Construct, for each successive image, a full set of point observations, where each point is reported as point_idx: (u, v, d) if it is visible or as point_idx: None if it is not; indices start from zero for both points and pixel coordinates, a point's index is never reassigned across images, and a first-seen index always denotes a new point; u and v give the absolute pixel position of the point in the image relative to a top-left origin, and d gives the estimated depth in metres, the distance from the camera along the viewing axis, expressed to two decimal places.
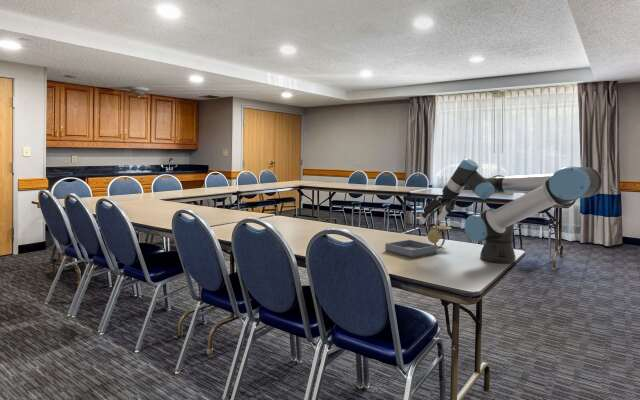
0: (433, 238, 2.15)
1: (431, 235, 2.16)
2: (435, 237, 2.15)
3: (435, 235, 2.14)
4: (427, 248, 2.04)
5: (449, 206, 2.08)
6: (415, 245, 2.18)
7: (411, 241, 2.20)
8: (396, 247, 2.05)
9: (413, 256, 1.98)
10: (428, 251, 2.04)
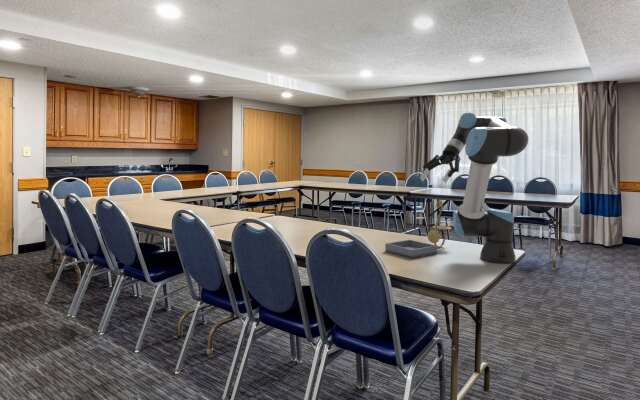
0: (433, 238, 2.15)
1: (431, 235, 2.16)
2: (435, 237, 2.14)
3: (435, 235, 2.14)
4: (427, 248, 2.04)
5: (450, 163, 2.07)
6: (415, 245, 2.18)
7: (411, 241, 2.20)
8: (396, 247, 2.05)
9: (413, 256, 1.98)
10: (428, 251, 2.04)
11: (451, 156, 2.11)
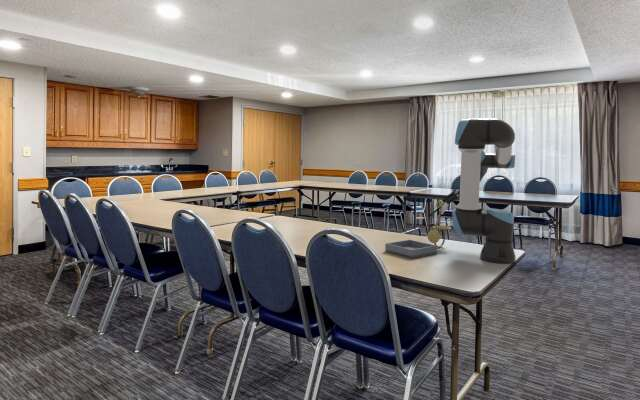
0: (433, 238, 2.15)
1: (431, 235, 2.16)
2: (435, 237, 2.14)
3: (435, 235, 2.14)
4: (427, 248, 2.04)
5: None
6: (415, 245, 2.18)
7: (411, 241, 2.20)
8: (396, 247, 2.05)
9: (413, 256, 1.98)
10: (428, 251, 2.04)
11: None
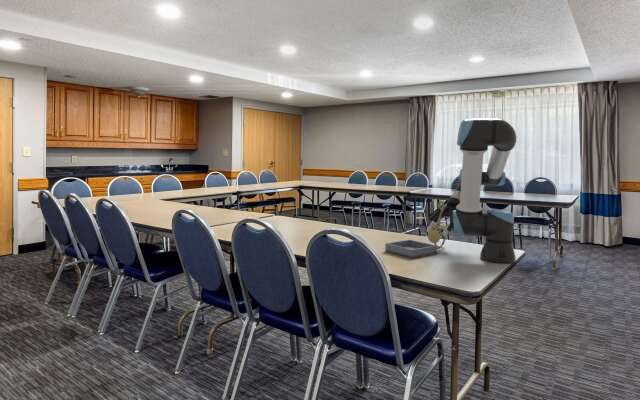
0: (433, 238, 2.15)
1: (431, 235, 2.16)
2: (435, 237, 2.14)
3: (435, 235, 2.14)
4: (427, 248, 2.04)
5: (451, 216, 2.19)
6: (415, 245, 2.18)
7: (411, 241, 2.20)
8: (396, 247, 2.05)
9: (413, 256, 1.98)
10: (428, 251, 2.04)
11: (454, 208, 2.21)
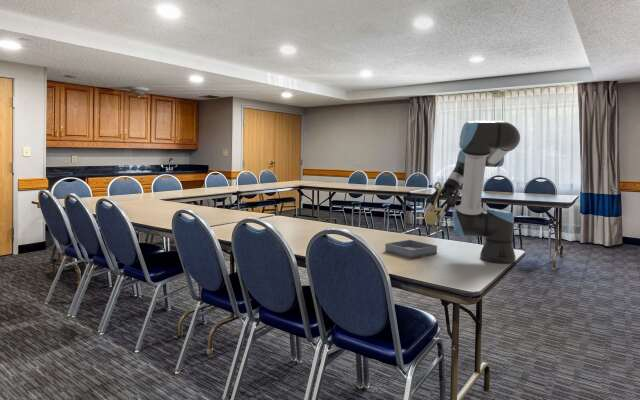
0: (430, 219, 2.14)
1: (428, 216, 2.15)
2: (432, 218, 2.13)
3: (432, 216, 2.13)
4: (427, 248, 2.04)
5: (448, 198, 2.17)
6: (415, 245, 2.18)
7: (411, 241, 2.20)
8: (396, 247, 2.05)
9: (413, 256, 1.98)
10: (428, 251, 2.04)
11: (452, 190, 2.20)
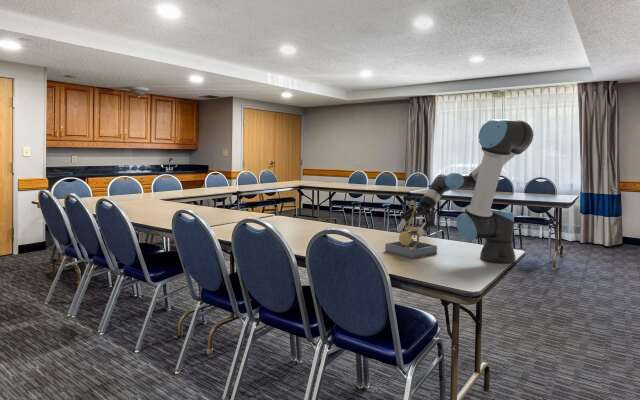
0: (405, 240, 2.04)
1: (403, 237, 2.04)
2: (407, 239, 2.03)
3: (407, 237, 2.03)
4: (427, 248, 2.04)
5: (425, 216, 2.06)
6: None
7: (411, 241, 2.20)
8: (396, 247, 2.05)
9: (413, 256, 1.98)
10: (428, 251, 2.04)
11: (427, 208, 2.10)
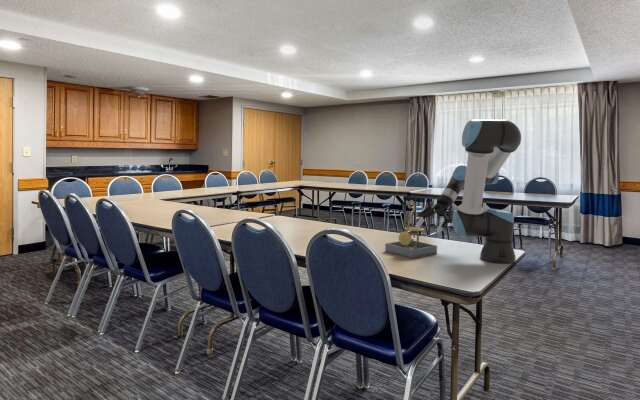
0: (404, 240, 2.04)
1: (402, 237, 2.05)
2: (406, 239, 2.03)
3: (406, 237, 2.03)
4: (427, 248, 2.04)
5: (443, 214, 2.15)
6: None
7: (411, 241, 2.20)
8: (396, 247, 2.05)
9: (413, 256, 1.98)
10: (428, 251, 2.04)
11: (445, 206, 2.18)
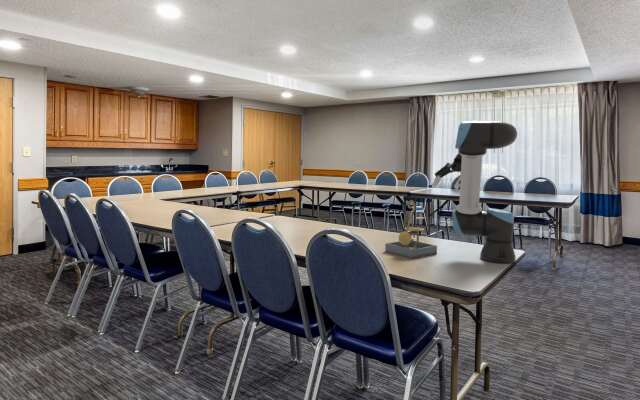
0: (404, 240, 2.04)
1: (402, 237, 2.05)
2: (406, 239, 2.03)
3: (406, 237, 2.03)
4: (427, 248, 2.04)
5: (461, 171, 2.17)
6: None
7: (411, 241, 2.20)
8: (396, 247, 2.05)
9: (413, 256, 1.98)
10: (428, 251, 2.04)
11: None
